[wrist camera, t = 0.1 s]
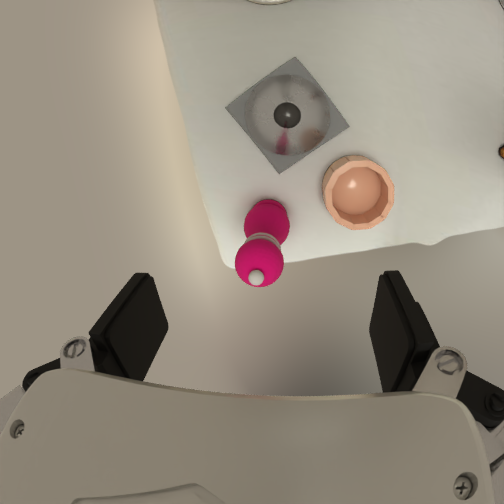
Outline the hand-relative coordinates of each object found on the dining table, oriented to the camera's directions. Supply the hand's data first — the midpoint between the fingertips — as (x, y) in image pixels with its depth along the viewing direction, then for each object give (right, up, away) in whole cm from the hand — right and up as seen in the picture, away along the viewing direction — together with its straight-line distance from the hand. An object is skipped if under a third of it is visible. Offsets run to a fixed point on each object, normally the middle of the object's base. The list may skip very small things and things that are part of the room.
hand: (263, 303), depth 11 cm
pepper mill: (+2, +8, +38) cm, 39 cm away
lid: (+5, +23, +29) cm, 37 cm away
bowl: (+17, +13, +33) cm, 39 cm away
